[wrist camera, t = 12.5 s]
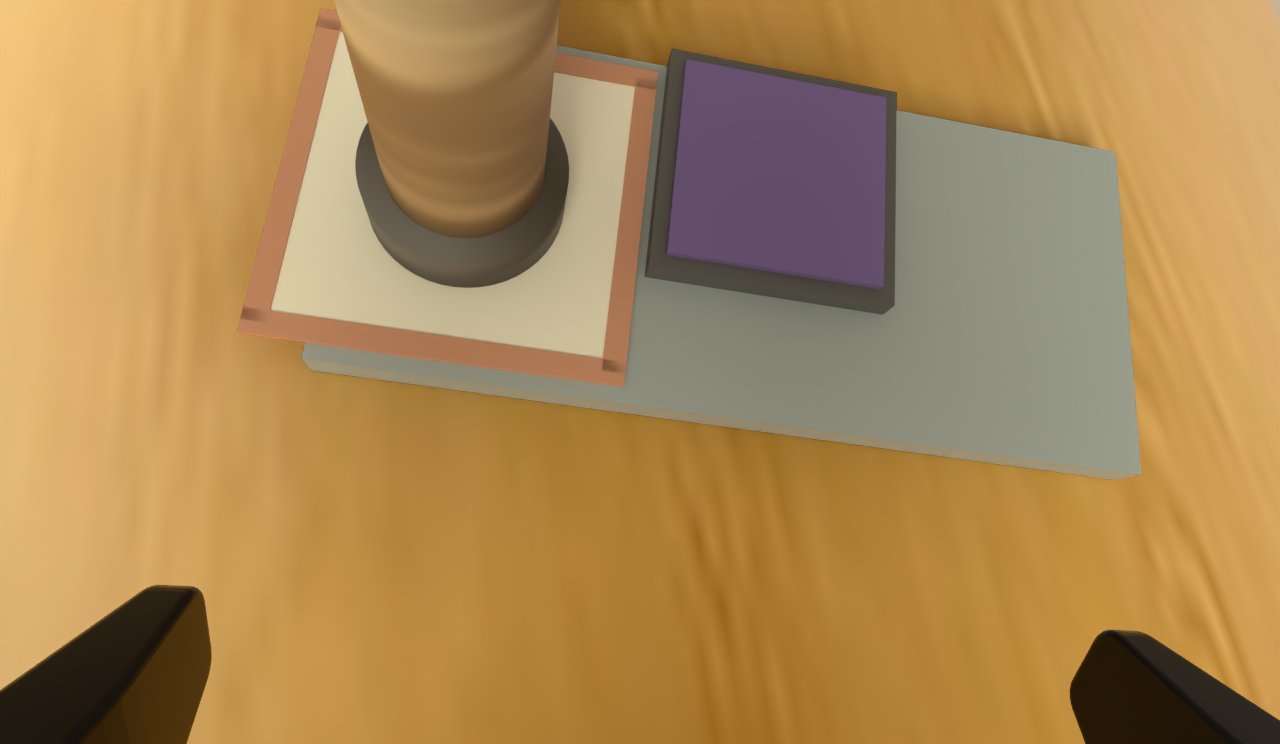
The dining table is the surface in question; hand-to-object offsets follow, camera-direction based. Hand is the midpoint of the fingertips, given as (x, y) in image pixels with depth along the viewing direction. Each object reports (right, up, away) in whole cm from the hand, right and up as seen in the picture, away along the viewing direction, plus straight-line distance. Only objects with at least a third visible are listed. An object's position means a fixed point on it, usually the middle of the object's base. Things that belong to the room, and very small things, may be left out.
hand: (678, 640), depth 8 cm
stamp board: (+3, +6, +15) cm, 16 cm away
